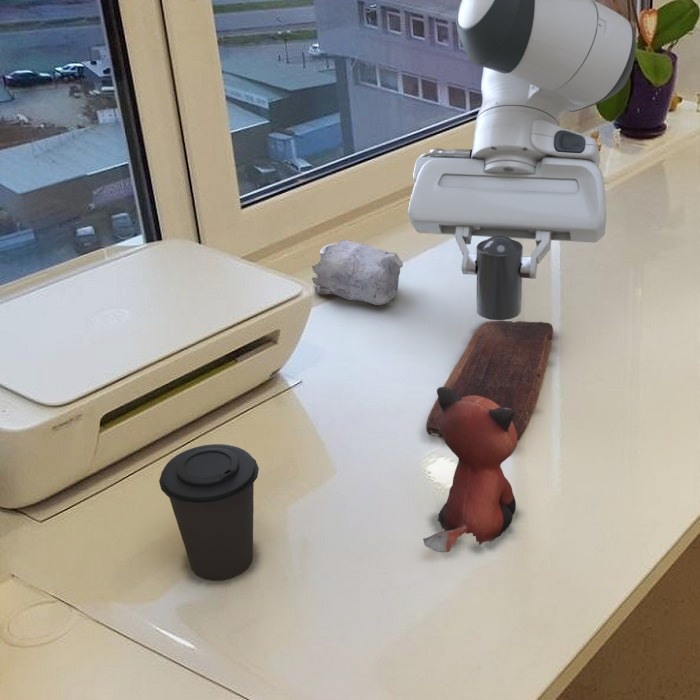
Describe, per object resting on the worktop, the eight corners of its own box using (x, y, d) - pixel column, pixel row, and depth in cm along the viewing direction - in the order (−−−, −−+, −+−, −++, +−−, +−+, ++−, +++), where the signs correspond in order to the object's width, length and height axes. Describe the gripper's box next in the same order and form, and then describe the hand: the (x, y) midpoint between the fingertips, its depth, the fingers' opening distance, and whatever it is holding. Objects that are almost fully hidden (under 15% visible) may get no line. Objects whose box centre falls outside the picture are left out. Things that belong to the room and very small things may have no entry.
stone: (387, 315, 130) (385, 263, 127) (304, 299, 136) (300, 249, 132) (416, 290, 136) (415, 240, 133) (336, 276, 142) (332, 227, 138)
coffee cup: (255, 595, 87) (242, 494, 82) (160, 588, 88) (142, 489, 83) (278, 533, 94) (268, 437, 89) (190, 527, 95) (175, 432, 90)
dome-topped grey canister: (516, 299, 113) (518, 227, 109) (524, 319, 109) (526, 244, 105) (473, 302, 113) (473, 230, 109) (479, 321, 109) (480, 247, 105)
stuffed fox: (395, 552, 90) (389, 433, 85) (453, 483, 99) (451, 370, 93) (476, 579, 87) (475, 456, 81) (530, 505, 95) (533, 389, 89)
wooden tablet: (481, 310, 127) (565, 309, 123) (483, 326, 128) (567, 326, 124) (418, 428, 105) (518, 431, 101) (421, 447, 106) (520, 451, 102)
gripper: (412, 134, 112) (393, 256, 108) (612, 140, 106) (599, 269, 103) (422, 161, 118) (404, 279, 114) (612, 168, 112) (600, 292, 108)
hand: (498, 274), depth 108 cm, fingers closed on dome-topped grey canister, 4 cm apart
